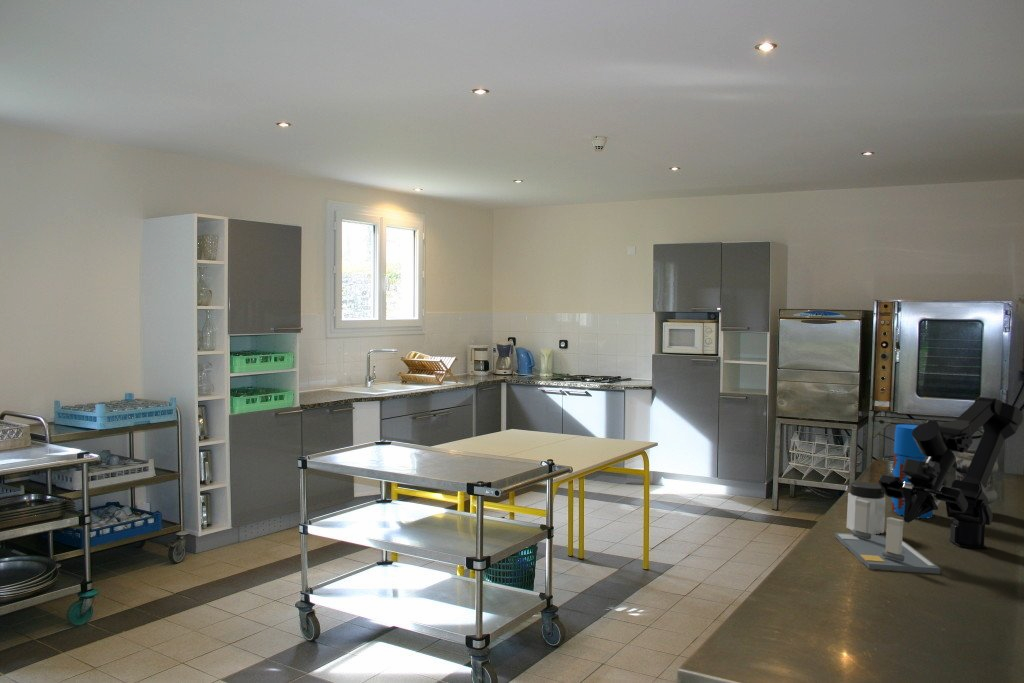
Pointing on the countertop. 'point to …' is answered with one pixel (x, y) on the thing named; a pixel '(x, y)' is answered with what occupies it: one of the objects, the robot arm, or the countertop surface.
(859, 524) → the lever
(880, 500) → the jar
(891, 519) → the lever
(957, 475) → the apothecary jar
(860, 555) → the switch panel
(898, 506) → the thermos
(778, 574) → the countertop surface
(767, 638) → the countertop surface
